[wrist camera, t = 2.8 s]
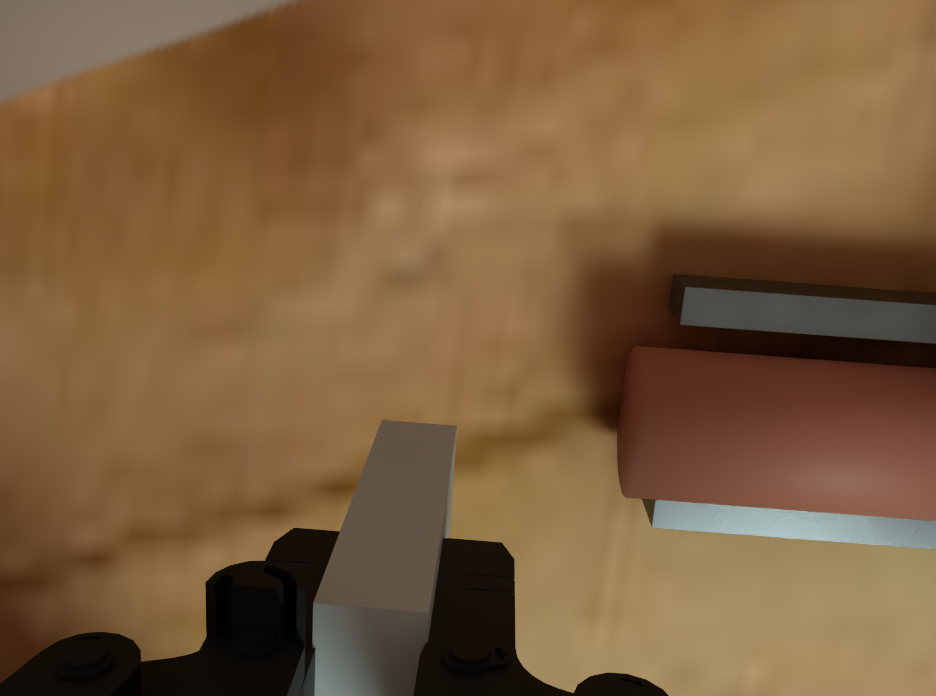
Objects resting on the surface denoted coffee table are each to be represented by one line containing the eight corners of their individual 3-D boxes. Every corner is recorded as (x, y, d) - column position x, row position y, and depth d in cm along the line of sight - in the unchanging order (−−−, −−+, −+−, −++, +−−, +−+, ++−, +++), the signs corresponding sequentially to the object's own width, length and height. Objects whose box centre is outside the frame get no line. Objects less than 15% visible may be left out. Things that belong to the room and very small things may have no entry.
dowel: (612, 447, 26) (629, 528, 23) (630, 322, 25) (651, 388, 21) (953, 473, 26) (1025, 559, 23) (996, 349, 25) (1080, 419, 21)
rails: (643, 501, 26) (652, 527, 25) (673, 274, 24) (685, 286, 23) (968, 526, 26) (997, 554, 25) (1024, 299, 24) (1059, 314, 23)
